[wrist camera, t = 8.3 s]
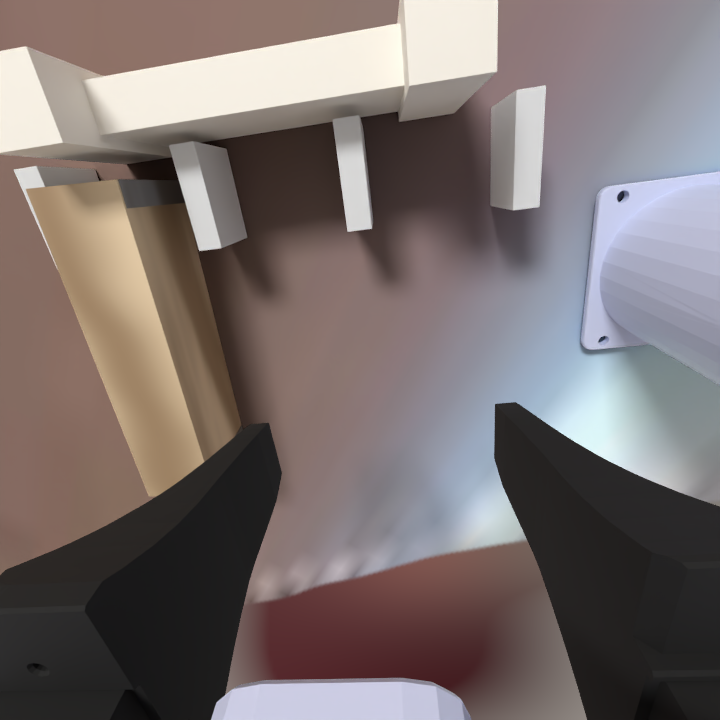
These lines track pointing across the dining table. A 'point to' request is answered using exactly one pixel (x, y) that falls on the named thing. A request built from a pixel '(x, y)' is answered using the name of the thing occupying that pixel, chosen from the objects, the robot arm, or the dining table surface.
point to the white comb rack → (271, 109)
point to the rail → (144, 318)
